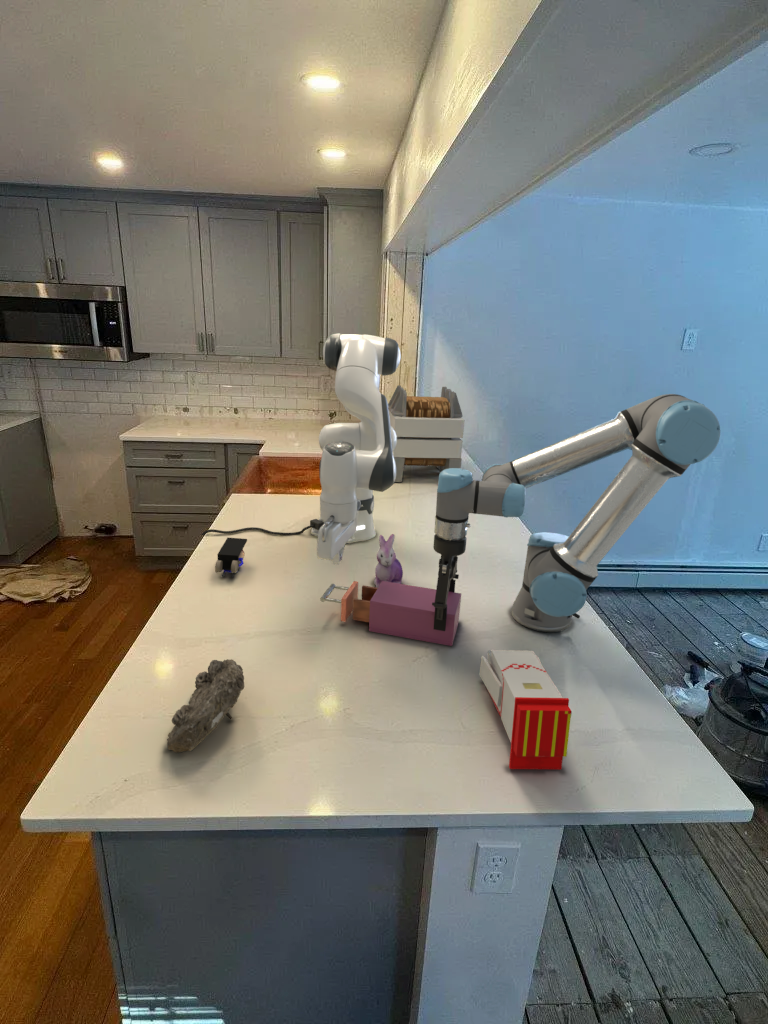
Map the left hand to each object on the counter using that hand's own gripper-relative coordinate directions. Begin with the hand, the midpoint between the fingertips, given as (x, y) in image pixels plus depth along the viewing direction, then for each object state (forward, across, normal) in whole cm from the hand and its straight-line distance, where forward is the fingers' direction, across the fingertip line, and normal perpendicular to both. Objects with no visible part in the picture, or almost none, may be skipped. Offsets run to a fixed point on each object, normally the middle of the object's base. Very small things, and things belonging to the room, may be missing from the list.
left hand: (337, 562), depth 142 cm
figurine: (+15, +20, -8) cm, 26 cm away
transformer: (+14, +139, +6) cm, 140 cm away
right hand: (+10, 0, -28) cm, 29 cm away
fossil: (+15, -44, +10) cm, 48 cm away
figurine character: (+15, +14, +37) cm, 43 cm away
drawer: (+14, 0, -9) cm, 17 cm away
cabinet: (+15, 0, -21) cm, 25 cm away
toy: (+15, -27, -46) cm, 56 cm away
